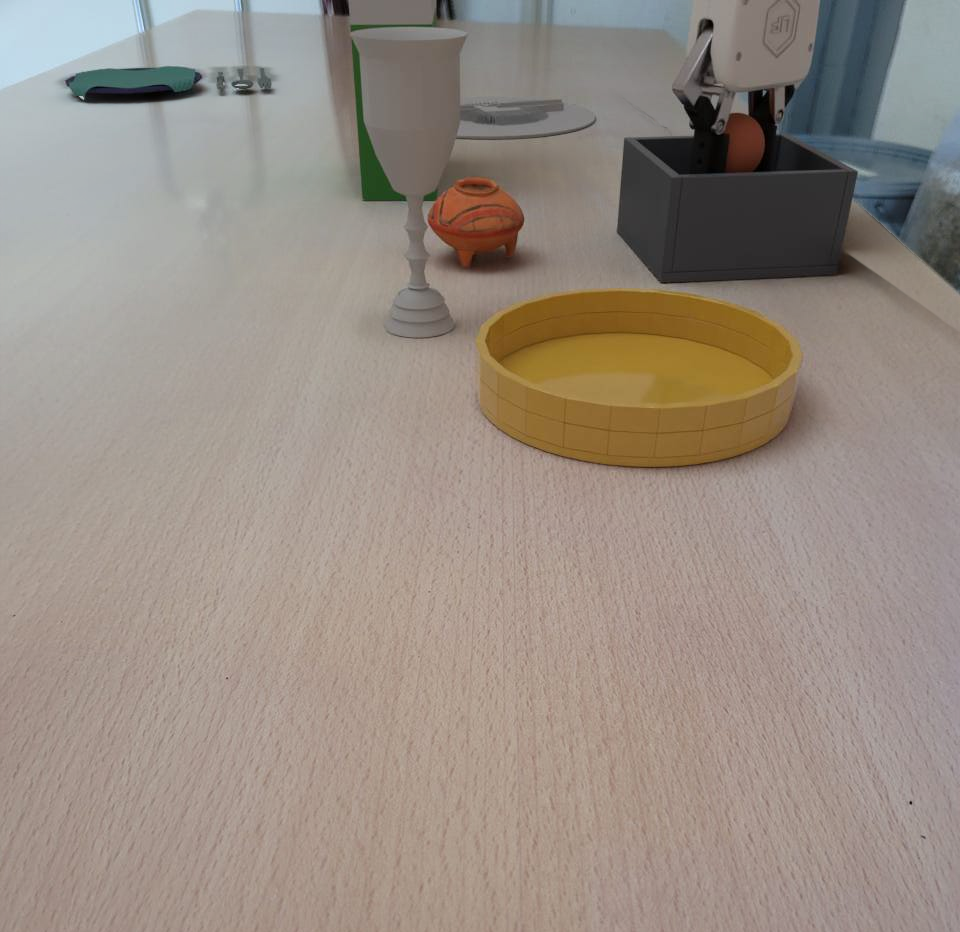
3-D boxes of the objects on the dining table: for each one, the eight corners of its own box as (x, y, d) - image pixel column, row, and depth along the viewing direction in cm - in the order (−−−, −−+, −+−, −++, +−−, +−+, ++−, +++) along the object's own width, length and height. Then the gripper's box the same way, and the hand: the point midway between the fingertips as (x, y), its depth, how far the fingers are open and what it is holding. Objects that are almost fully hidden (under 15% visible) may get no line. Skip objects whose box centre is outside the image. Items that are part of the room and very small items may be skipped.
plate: (549, 94, 148) (549, 85, 147) (630, 130, 127) (631, 119, 126) (365, 106, 141) (364, 96, 140) (418, 145, 120) (417, 134, 119)
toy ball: (746, 172, 84) (756, 106, 81) (768, 187, 80) (779, 118, 77) (689, 174, 84) (697, 108, 81) (708, 189, 80) (717, 119, 77)
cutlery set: (75, 84, 157) (71, 67, 155) (268, 77, 162) (266, 61, 160) (60, 106, 141) (55, 87, 140) (274, 98, 146) (272, 80, 145)
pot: (509, 236, 88) (517, 159, 83) (527, 285, 83) (536, 207, 78) (419, 238, 87) (422, 160, 82) (432, 287, 82) (435, 208, 77)
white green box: (375, 160, 114) (359, -102, 99) (440, 160, 114) (433, -103, 99) (362, 200, 100) (341, -99, 85) (436, 199, 100) (428, -100, 85)
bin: (771, 225, 92) (786, 132, 87) (836, 275, 81) (858, 171, 76) (616, 232, 91) (624, 137, 86) (660, 283, 79) (671, 177, 74)
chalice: (352, 334, 70) (329, 37, 59) (392, 304, 75) (377, 25, 64) (449, 347, 68) (443, 42, 57) (483, 315, 73) (484, 29, 62)
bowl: (729, 332, 70) (737, 282, 68) (843, 455, 55) (858, 396, 53) (459, 345, 68) (459, 294, 66) (501, 478, 53) (502, 417, 51)
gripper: (728, -92, 65) (691, 206, 76) (884, -94, 73) (830, 174, 84) (645, -94, 69) (621, 186, 80) (801, -97, 78) (760, 158, 89)
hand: (728, 178), depth 82 cm, fingers closed on toy ball, 4 cm apart
